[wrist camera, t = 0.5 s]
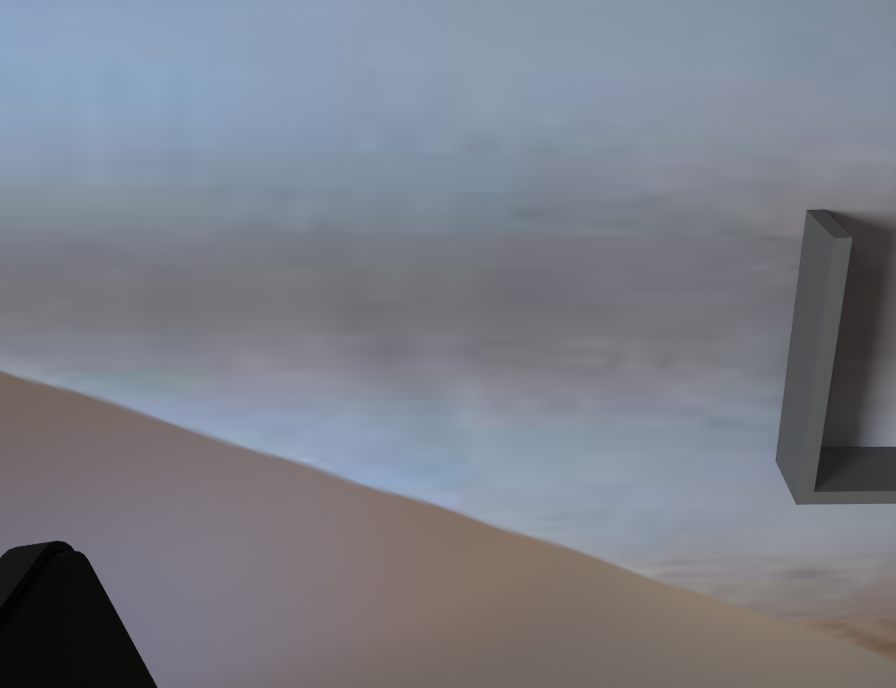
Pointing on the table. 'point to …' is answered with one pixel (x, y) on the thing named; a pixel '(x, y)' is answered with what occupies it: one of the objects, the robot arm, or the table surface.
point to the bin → (823, 384)
